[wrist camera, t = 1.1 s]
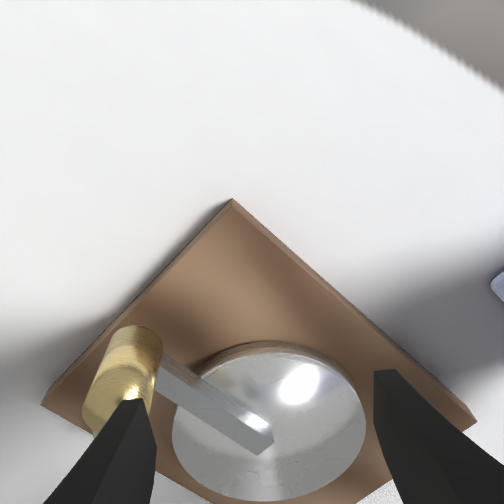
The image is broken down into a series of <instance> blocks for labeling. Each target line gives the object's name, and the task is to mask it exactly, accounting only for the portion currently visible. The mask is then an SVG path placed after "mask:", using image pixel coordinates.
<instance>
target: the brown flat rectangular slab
mask: <svg viewBox="0 0 504 504" xmlns="http://www.w3.org/2000/svg"><path fill="white" fill-rule="evenodd" d="M132 325H138V326H143V327H146V328H149V329H151V330H152V331H154V332H155V333H156V334H157V335H158V336H159V337H160V339H161V340H162V343H163V348H164V349H163V352H164V353H166V354H167V355H169V356H170V357H171V358H173V359H174V360H176V361H177V362H179V363H180V364H182V365H183V366H185V367H186V368H187V369H189V370H190V371H192V372H194V371H195V370H196V369H197V368H198V367H200V366H201V365H202V364H203V363H205V362H206V361H207V360H209V359H210V358H212V357H214V356H215V355H217V354H219V353H221V352H223V351H226V350H228V349H231V348H234V347H237V346H240V345H244V344H249V343H254V342H263V341H282V342H290V343H296V344H300V345H304V346H307V347H310V348H313V349H315V350H318V351H320V352H321V353H323V354H325V355H327V356H329V357H330V358H331V359H333V360H334V361H336V362H337V363H338V364H339V365H340V366H341V367H342V368H343V369H344V370H345V371H346V373H347V374H348V375H349V376H350V378H351V380H352V382H353V384H354V386H355V388H356V391H357V394H358V397H359V399H360V402H361V405H362V408H363V411H364V413H365V420H366V433H365V438H364V442H363V445H362V447H361V450H360V452H359V453H358V455H357V457H356V459H355V460H354V461H353V463H352V464H351V465H350V466H349V467H348V468H347V469H346V470H345V471H344V472H343V473H342V474H341V475H340V476H339V477H337V478H336V479H335V480H334V481H332V482H330V483H329V484H327V485H326V486H324V487H322V488H320V489H318V490H316V491H313V492H311V493H308V494H306V495H303V496H299V497H295V498H291V499H286V500H279V501H262V502H258V501H246V500H241V499H235V498H231V497H228V496H224V495H222V494H219V493H217V492H214V491H212V490H210V489H208V488H206V487H205V486H203V485H202V484H200V483H199V482H197V481H196V480H195V479H194V478H193V477H192V476H190V475H189V474H188V472H187V471H186V470H185V469H184V468H183V466H182V465H181V463H180V462H179V460H178V458H177V455H176V453H175V450H174V446H173V441H172V429H173V422H174V416H175V410H176V403H174V402H173V401H171V400H169V399H168V398H166V397H165V396H163V395H162V394H160V393H159V392H157V391H156V390H154V394H153V398H152V402H151V407H150V411H149V415H148V417H149V421H150V424H151V428H152V431H153V435H154V438H155V442H156V445H157V455H156V466H155V471H157V472H159V473H161V474H162V475H164V476H166V477H168V478H169V479H171V480H173V481H175V482H176V483H178V484H180V485H182V486H183V487H185V488H187V489H189V490H190V491H192V492H194V493H196V494H197V495H199V496H201V497H203V498H204V499H206V500H208V501H210V502H211V503H213V504H356V503H357V502H359V501H360V500H362V499H363V498H365V497H366V496H368V495H369V494H371V493H372V492H374V491H375V490H376V489H378V488H379V487H381V486H382V485H384V484H385V483H387V482H388V481H390V480H391V479H393V478H392V476H391V473H390V471H389V469H388V466H387V464H386V462H385V459H384V457H383V453H382V450H381V447H380V444H379V441H378V437H377V434H376V430H375V427H374V424H373V395H374V371H377V370H386V369H396V370H397V371H398V372H399V373H400V374H401V375H402V376H403V377H404V378H405V379H406V380H407V381H408V382H409V383H410V384H411V385H412V386H413V387H414V388H415V389H416V390H417V391H418V392H419V393H420V394H421V395H422V396H423V397H424V398H425V399H426V400H427V401H428V402H429V403H430V404H431V405H432V406H433V407H434V408H435V409H437V410H438V411H439V412H440V413H441V414H442V415H443V416H444V417H445V418H446V419H448V420H449V421H450V422H451V423H452V424H453V425H454V426H455V427H456V428H458V429H459V430H460V431H461V432H463V431H464V430H466V429H467V428H469V427H470V426H472V425H473V424H475V423H476V422H477V420H476V419H475V417H474V416H473V414H472V413H471V411H470V410H469V408H468V407H467V406H466V405H465V404H464V403H463V402H462V401H461V400H459V399H458V398H457V397H456V396H455V395H454V394H453V393H452V392H450V391H449V390H448V389H447V388H446V387H445V386H444V385H443V384H441V383H440V382H439V381H438V380H437V379H436V378H435V377H434V376H432V375H431V374H430V373H429V372H428V371H427V370H426V369H425V368H423V367H422V366H421V365H420V364H419V363H418V362H417V361H415V360H414V359H413V358H412V357H411V356H410V355H409V354H408V353H406V352H405V351H404V350H403V349H402V348H401V347H400V346H399V345H397V344H396V343H395V342H394V341H393V340H392V339H391V338H390V337H388V336H387V335H386V334H385V333H384V332H383V331H382V330H381V329H379V328H378V327H377V326H376V325H375V324H374V323H373V322H372V321H370V320H369V319H368V318H367V317H366V316H365V315H364V314H363V313H361V312H360V311H359V310H358V309H357V308H356V307H355V306H353V305H352V304H351V303H350V302H349V301H348V300H347V299H346V298H344V297H343V296H342V295H341V294H340V293H339V292H338V291H337V290H335V289H334V288H333V287H332V286H331V285H330V284H329V283H328V282H326V281H325V280H324V279H323V278H322V277H321V276H320V275H319V274H317V273H316V272H315V271H314V270H313V269H312V268H311V267H310V266H308V265H307V264H306V263H305V262H304V261H303V260H302V259H301V258H299V257H298V256H297V255H296V254H295V253H294V252H293V251H291V250H290V249H289V248H288V247H287V246H286V245H285V244H284V243H282V242H281V241H280V240H279V239H278V238H277V237H276V236H275V235H273V234H272V233H271V232H270V231H269V230H268V229H267V228H266V227H264V226H263V225H262V224H261V223H260V222H259V221H258V220H257V219H255V218H254V217H253V216H252V215H251V214H250V213H249V212H248V211H246V210H245V209H244V208H243V207H242V206H241V205H240V204H239V203H237V202H236V201H235V200H234V199H233V198H232V199H231V200H230V201H229V202H228V203H227V204H226V205H225V206H224V207H223V208H222V209H221V210H220V212H219V213H218V214H217V215H216V216H215V217H214V218H213V219H212V220H211V221H210V222H209V223H208V224H207V225H206V226H205V227H204V228H203V229H202V230H201V231H200V232H199V233H198V234H197V235H196V236H195V237H194V239H193V240H192V241H191V242H190V243H189V244H188V245H187V246H186V247H185V248H184V249H183V250H182V251H181V252H180V253H179V254H178V255H177V256H176V257H175V258H174V259H173V260H172V261H171V262H170V263H169V265H168V266H167V267H166V268H165V269H164V270H163V271H162V272H161V273H160V274H159V275H158V276H157V277H156V278H155V279H154V280H153V281H152V282H151V283H150V284H149V285H148V286H147V287H146V288H145V289H144V291H143V292H142V293H141V294H140V295H139V296H138V297H137V298H136V299H135V300H134V301H133V302H132V303H131V304H130V305H129V306H128V307H127V308H126V309H125V310H124V311H123V312H122V313H121V314H120V315H119V317H118V318H117V319H116V320H115V321H114V322H113V323H112V324H111V325H110V326H109V327H108V328H107V329H106V330H105V331H104V332H103V333H102V334H101V335H100V336H99V337H98V338H97V339H96V340H95V341H94V343H93V344H92V345H91V346H90V347H89V348H88V349H87V350H86V351H85V352H84V353H83V354H82V355H81V356H80V357H79V358H78V359H77V360H76V361H75V362H74V363H73V364H72V365H71V366H70V367H69V369H68V370H67V371H66V372H65V373H64V374H63V375H62V376H61V377H60V378H59V379H58V380H57V381H56V382H55V383H54V384H53V385H52V386H51V387H50V388H49V390H48V392H47V393H46V395H45V397H44V399H43V401H42V403H41V404H40V405H42V406H44V407H45V408H47V409H49V410H51V411H52V412H54V413H56V414H58V415H59V416H61V417H63V418H65V419H66V420H68V421H70V422H72V423H73V424H75V425H77V426H79V427H80V428H82V429H84V430H86V431H87V432H89V433H91V434H93V437H94V439H95V438H96V436H97V435H98V433H96V432H95V431H93V430H92V429H91V428H89V427H88V426H87V424H86V423H85V421H84V419H83V417H82V406H83V404H84V401H85V399H86V397H87V394H88V392H89V390H90V387H91V385H92V383H93V380H94V378H95V376H96V373H97V371H98V368H99V366H100V364H101V361H102V359H103V357H104V354H105V352H106V350H107V347H108V345H109V343H110V340H111V338H112V336H113V335H114V333H115V332H117V331H118V330H119V329H121V328H123V327H126V326H132Z"/></svg>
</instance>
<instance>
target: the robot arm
mask: <svg viewBox="0 0 504 504" xmlns="http://www.w3.org/2000/svg"><path fill="white" fill-rule="evenodd" d="M491 289H492V290H493V291H494V293H495V294H496V295H497V296H498V297H499V298H500V299H501V300H502V301H503V302H504V271H503V272H502V273H501V274H499V275H498V276H497V277H495V278H494V279H493V280H492V282H491ZM373 424H374V427H375V430H376V434H377V437H378V441H379V444H380V447H381V450H382V453H383V457H384V459H385V462H386V464H387V466H388V469H389V471H390V473H391V476H392V478H393V481H394V483H395V485H396V488H397V490H398V492H399V495H400V497H401V499H402V501H403V504H504V465H502V464H501V463H500V462H498V461H497V460H496V459H494V458H493V457H492V456H490V455H489V454H488V453H487V452H485V451H484V450H483V449H482V448H480V447H479V446H478V445H477V444H475V443H474V442H473V441H472V440H471V439H469V438H468V437H467V436H466V435H465V434H463V433H462V432H461V431H460V430H459V429H458V428H456V427H455V426H454V425H453V424H452V423H451V422H450V421H449V420H448V419H446V418H445V417H444V416H443V415H442V414H441V413H440V412H439V411H438V410H437V409H435V408H434V407H433V406H432V405H431V404H430V403H429V402H428V401H427V400H426V399H425V398H424V397H423V396H422V395H421V394H420V393H419V392H418V391H417V390H416V389H415V388H414V387H413V386H412V385H411V384H410V383H409V382H408V381H407V380H406V379H405V378H404V377H403V376H402V375H401V374H400V373H399V372H398V371H397V370H396V369H386V370H377V371H374V395H373ZM156 455H157V445H156V442H155V438H154V435H153V431H152V428H151V424H150V421H149V417H148V414H147V410H146V407H145V404H144V400H143V398H137V399H128V400H122V401H121V402H120V404H119V405H118V406H117V408H116V409H115V411H114V412H113V413H112V415H111V416H110V418H109V419H108V421H107V422H106V423H105V425H104V426H103V428H102V429H101V431H100V432H99V433H98V435H97V436H96V438H95V439H94V440H93V442H92V443H91V444H90V446H89V447H88V448H87V450H86V451H85V452H84V454H83V455H82V456H81V458H80V459H79V460H78V462H77V463H76V464H75V466H74V467H73V468H72V469H71V471H70V472H69V473H68V474H67V476H66V477H65V478H64V479H63V480H62V482H61V483H60V484H59V485H58V487H57V488H56V489H55V490H54V491H53V493H52V494H51V495H50V496H49V497H48V498H47V500H46V501H45V502H44V503H43V504H149V503H150V498H151V493H152V489H153V484H154V475H155V466H156Z"/></svg>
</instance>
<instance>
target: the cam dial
mask: <svg viewBox="0 0 504 504" xmlns="http://www.w3.org/2000/svg"><path fill="white" fill-rule="evenodd" d="M163 349H164V348H163V343H162V340H161V339H160V337H159V336H158V335H157V334H156V333H155V332H154V331H152V330H151V329H149V328H146V327H143V326H138V325H132V326H126V327H123V328H121V329H119V330H118V331H117V332H115V333H114V335H113V336H112V338H111V340H110V343H109V345H108V347H107V350H106V352H105V354H104V357H103V359H102V361H101V364H100V366H99V368H98V371H97V373H96V376H95V378H94V380H93V383H92V385H91V387H90V390H89V392H88V394H87V397H86V399H85V401H84V404H83V406H82V417H83V419H84V421H85V423H86V424H87V426H88V427H89V428H91V429H92V430H93V431H95V432H96V433H99V432H100V431H101V429H102V428H103V426H104V425H105V423H106V422H107V421H108V419H109V418H110V416H111V415H112V413H113V412H114V411H115V409H116V408H117V406H118V405H119V404H120V402H121V401H122V400H128V399H137V398H143V400H144V404H145V407H146V410H147V414H148V415H149V411H150V407H151V402H152V398H153V394H154V390H156V391H157V392H159V393H160V394H162V395H163V396H165V397H166V398H168V399H169V400H171V401H173V402H174V403H176V410H175V416H174V422H173V429H172V441H173V446H174V450H175V453H176V455H177V458H178V460H179V462H180V463H181V465H182V466H183V468H184V469H185V470H186V471H187V472H188V474H189V475H190V476H192V477H193V478H194V479H195V480H196V481H197V482H199V483H200V484H202V485H203V486H205V487H206V488H208V489H210V490H212V491H214V492H217V493H219V494H222V495H224V496H228V497H231V498H235V499H241V500H246V501H258V502H262V501H279V500H286V499H291V498H295V497H299V496H303V495H306V494H308V493H311V492H313V491H316V490H318V489H320V488H322V487H324V486H326V485H327V484H329V483H330V482H332V481H334V480H335V479H336V478H337V477H339V476H340V475H341V474H342V473H343V472H344V471H345V470H346V469H347V468H348V467H349V466H350V465H351V464H352V463H353V461H354V460H355V459H356V457H357V455H358V453H359V452H360V450H361V447H362V445H363V442H364V438H365V433H366V420H365V413H364V411H363V408H362V405H361V402H360V399H359V397H358V394H357V391H356V388H355V386H354V384H353V382H352V380H351V378H350V376H349V375H348V374H347V373H346V371H345V370H344V369H343V368H342V367H341V366H340V365H339V364H338V363H337V362H336V361H334V360H333V359H331V358H330V357H329V356H327V355H325V354H323V353H321V352H320V351H318V350H315V349H313V348H310V347H307V346H304V345H300V344H296V343H290V342H282V341H263V342H254V343H249V344H244V345H240V346H237V347H234V348H231V349H228V350H226V351H223V352H221V353H219V354H217V355H215V356H214V357H212V358H210V359H209V360H207V361H206V362H205V363H203V364H202V365H201V366H200V367H198V368H197V369H196V370H195V371H194V372H192V371H190V370H189V369H187V368H186V367H185V366H183V365H182V364H180V363H179V362H177V361H176V360H174V359H173V358H171V357H170V356H169V355H167V354H166V353H164V352H163Z"/></svg>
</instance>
